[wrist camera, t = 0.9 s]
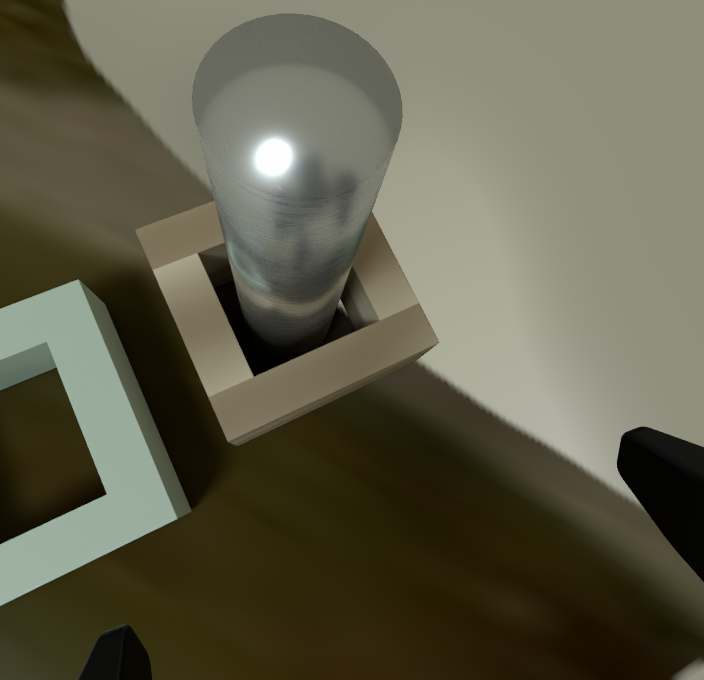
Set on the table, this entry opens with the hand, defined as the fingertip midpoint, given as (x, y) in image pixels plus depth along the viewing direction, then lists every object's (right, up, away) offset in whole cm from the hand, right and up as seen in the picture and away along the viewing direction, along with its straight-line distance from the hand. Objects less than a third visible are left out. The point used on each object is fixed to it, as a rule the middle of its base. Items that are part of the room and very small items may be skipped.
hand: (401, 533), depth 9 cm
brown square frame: (-4, +4, +14) cm, 15 cm away
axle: (-4, +4, +14) cm, 15 cm away
